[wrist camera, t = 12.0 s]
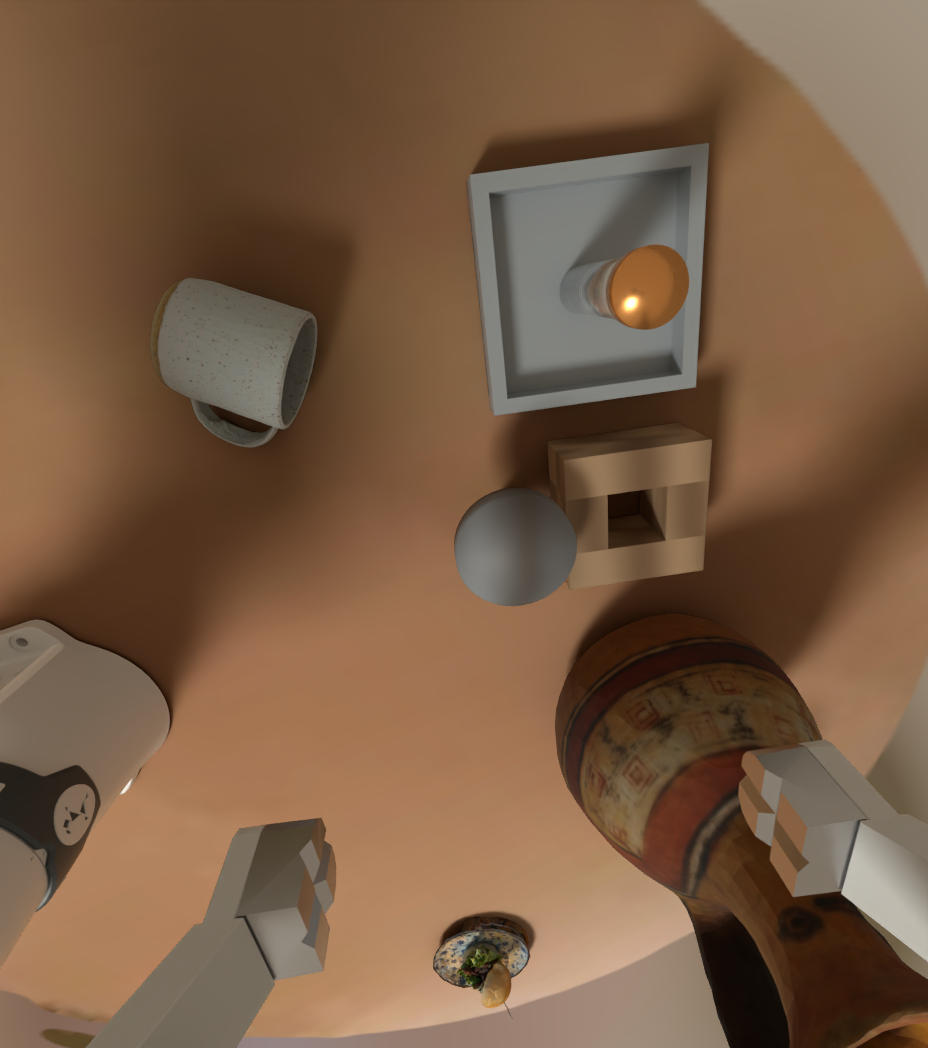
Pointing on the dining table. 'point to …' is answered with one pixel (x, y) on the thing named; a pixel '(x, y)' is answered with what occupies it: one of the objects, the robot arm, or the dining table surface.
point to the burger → (484, 957)
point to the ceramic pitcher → (725, 833)
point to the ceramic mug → (234, 355)
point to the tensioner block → (592, 517)
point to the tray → (575, 239)
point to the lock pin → (629, 287)
